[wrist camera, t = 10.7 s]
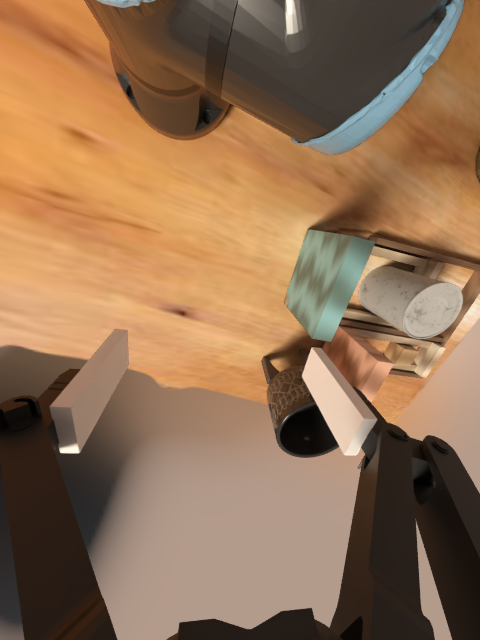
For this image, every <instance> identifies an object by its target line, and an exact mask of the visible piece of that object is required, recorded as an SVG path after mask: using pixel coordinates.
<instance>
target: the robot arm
mask: <svg viewBox="0 0 480 640" xmlns="http://www.w3.org/2000/svg"><path fill="white" fill-rule="evenodd" d="M84 1H85V3H86V4H87V6H88V7H89V9H90V11H91V12H92V14H93V15H94V17H95V19H96V20H97V22H98V24H99V25H100V27H101V28H102V30H103V32H104V33H105V35H106V37H107V38H108V40H109V45H110V53H111V58H112V62H113V66H114V69H115V73H116V75H117V78H118V81H119V83H120V85H121V88H122V90H123V92H124V93H125V95H126V97H127V99H128V100H129V102H130V103H131V105H132V106H133V107H134V109H135V110H136V112H137V113H138V114H139V115H140V117H141V118H142V119H143V120H144V121H145V122H146V123H147V124H148V125H149V126H151V127H152V128H153V129H154V130H156V131H157V132H159V133H161V134H163V135H165V136H167V137H170V138H173V139H177V140H193V139H197V138H200V137H203V136H205V135H206V134H208V133H210V132H211V131H212V130H213V129H215V128H216V127H217V126H218V124H219V123H220V122H221V121H222V119H223V118H224V116H225V114H226V113H227V111H228V108H229V106H230V104H232V105H234V106H236V107H237V108H239V109H241V110H243V111H245V112H246V113H248V114H250V115H252V116H254V117H255V118H257V119H259V120H261V121H263V122H264V123H266V124H268V125H270V126H272V127H274V128H275V129H277V130H279V131H281V132H283V133H284V134H286V135H288V136H290V137H291V139H292V141H293V142H295V143H296V144H298V145H303V146H308V147H310V148H312V149H314V150H316V151H318V152H320V153H323V154H326V155H336V154H342V153H345V152H347V151H349V150H351V149H353V148H355V147H357V146H358V145H360V144H361V143H363V142H364V141H366V140H367V139H368V138H369V137H371V136H372V135H373V134H374V133H375V132H377V131H378V130H379V129H380V128H381V127H382V126H383V125H384V124H385V123H386V122H387V121H388V120H389V119H390V118H391V117H392V116H393V115H394V114H395V113H396V112H397V111H398V110H399V109H400V108H401V107H402V106H403V105H404V104H405V102H406V101H407V100H408V99H409V98H410V96H411V95H412V94H413V93H414V91H415V90H416V89H417V88H418V86H419V85H420V84H421V82H422V81H423V73H424V72H425V71H426V70H427V69H428V68H429V67H430V66H431V65H433V64H434V63H435V62H436V61H437V60H438V59H439V57H440V55H441V54H442V52H443V51H444V49H445V47H446V46H447V44H448V42H449V40H450V38H451V37H452V35H453V33H454V30H455V28H456V26H457V23H458V21H459V18H460V16H461V14H462V11H463V6H464V0H84ZM128 365H129V353H128V330H121V329H115V330H114V331H113V332H112V333H111V334H110V336H109V337H108V338H107V339H106V340H105V342H104V343H103V344H102V345H101V346H100V347H99V349H98V350H97V351H96V352H95V353H94V355H93V356H92V357H91V358H90V359H89V360H88V362H87V363H86V364H85V365H84V366H83V368H82V369H69V370H68V371H66V372H64V373H63V374H61V375H60V376H59V377H58V378H57V379H56V380H55V381H54V382H53V384H51V385H50V386H49V387H48V389H47V390H46V391H45V392H44V393H43V394H42V395H41V396H40V397H39V398H38V399H37V398H36V397H33V396H20V397H15V398H12V399H9V400H7V401H5V402H3V403H1V404H0V481H1V480H3V484H4V491H5V499H6V506H7V513H8V521H9V528H10V536H11V543H12V551H13V558H14V565H15V572H16V580H17V587H18V594H19V602H20V609H21V616H22V624H23V632H24V638H25V640H117V637H116V634H115V631H114V628H113V625H112V622H111V619H110V616H109V613H108V610H107V607H106V605H105V602H104V599H103V597H102V595H101V592H100V589H99V587H98V583H97V581H96V577H95V574H94V571H93V568H92V565H91V562H90V559H89V556H88V553H87V550H86V547H85V544H84V541H83V538H82V535H81V532H80V529H79V525H78V522H77V519H76V517H75V513H74V511H73V507H72V504H71V501H70V498H69V495H68V492H67V489H66V486H65V483H64V480H63V477H62V474H61V471H60V468H59V465H58V462H57V459H56V455H55V452H54V450H55V448H56V447H57V446H58V445H59V449H60V452H61V453H80V451H81V449H82V447H83V446H84V444H85V442H86V440H87V439H88V437H89V435H90V433H91V431H92V429H93V428H94V426H95V424H96V422H97V421H98V419H99V417H100V415H101V413H102V412H103V410H104V408H105V406H106V404H107V403H108V401H109V399H110V397H111V396H112V394H113V392H114V390H115V388H116V386H117V385H118V383H119V381H120V379H121V377H122V376H123V373H124V372H125V370H126V369H127V367H128ZM302 378H303V380H304V381H305V383H306V385H307V387H308V389H309V391H310V393H311V394H312V396H313V398H314V400H315V402H316V404H317V406H318V407H319V409H320V411H321V413H322V415H323V417H324V419H325V420H326V422H327V424H328V426H329V428H330V430H331V432H332V433H333V435H334V437H335V439H336V441H337V443H338V445H339V447H340V448H341V450H342V452H343V454H344V455H357V454H358V453H359V451H360V449H361V448H362V449H363V451H364V453H365V456H364V458H363V459H362V461H361V462H360V464H359V466H358V469H360V468H361V472H360V478H359V484H358V490H357V496H356V502H355V507H354V513H353V519H352V525H351V531H350V537H349V543H348V549H347V554H346V560H345V566H344V572H343V578H342V584H341V589H340V595H339V601H338V605H337V608H336V611H335V614H334V617H333V619H332V622H331V626H330V628H328V627H327V626H326V625H324V624H322V623H321V622H319V621H317V620H315V619H314V615H313V611H312V608H307V609H299V610H289V611H282V612H280V613H278V614H276V615H275V616H273V617H271V618H270V619H268V620H266V621H265V622H263V623H262V624H260V625H258V626H256V627H255V628H253V629H244V628H241V627H238V626H235V625H232V624H229V623H226V622H223V621H220V620H216V619H208V620H198V621H189V622H181V623H179V629H178V633H177V634H175V635H173V636H171V637H169V638H168V639H167V640H435V638H434V632H433V628H432V625H431V623H430V621H429V620H428V619H427V618H426V617H425V616H424V615H423V613H422V610H421V602H420V585H419V568H418V552H417V535H416V521H417V525H418V528H419V531H420V534H421V538H422V541H423V544H424V548H425V551H426V554H427V558H428V560H429V564H430V567H431V570H432V574H433V577H434V581H435V584H436V587H437V590H438V594H439V597H440V600H441V604H442V607H443V610H444V614H445V617H446V620H447V623H448V627H449V630H450V633H451V637H452V640H480V493H479V492H478V490H477V488H476V487H475V485H474V483H473V481H472V480H471V478H470V476H469V474H468V473H467V471H466V469H465V467H464V466H463V464H462V462H461V461H460V459H459V457H458V455H457V454H456V452H455V451H454V450H453V448H452V447H451V446H450V445H448V444H447V443H446V442H445V441H443V440H441V439H439V438H437V437H435V436H430V435H428V436H426V437H425V439H424V440H423V441H420V440H416V439H413V438H410V437H409V436H408V435H407V433H406V432H404V431H403V430H402V429H401V428H399V427H398V426H396V425H393V424H390V423H387V422H386V421H385V419H384V418H383V417H382V416H381V414H380V413H379V412H378V411H377V410H376V408H375V407H374V406H373V405H372V404H371V402H370V401H369V400H367V398H366V396H365V395H364V394H363V393H362V392H361V391H360V390H359V389H357V388H356V387H355V386H351V385H350V384H349V383H348V381H347V380H346V379H345V378H344V376H343V375H342V374H341V373H340V371H339V370H338V369H337V367H336V366H335V365H334V364H333V362H332V361H331V360H330V359H329V357H328V356H327V355H326V354H325V352H324V351H323V350H322V349H321V348H316V347H312V348H311V351H310V354H309V356H308V359H307V362H306V365H305V368H304V371H303V374H302ZM415 518H416V519H415Z"/></svg>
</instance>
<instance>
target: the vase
mask: <svg viewBox="0 0 480 640" xmlns="http://www.w3.org/2000/svg"><path fill="white" fill-rule="evenodd" d="M476 172H477V178H478V180H479V182H480V149H479V152H478V155H477V161H476Z"/></svg>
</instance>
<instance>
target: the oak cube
mask: <svg viewBox="0 0 480 640" xmlns="http://www.w3.org/2000/svg"><path fill="white" fill-rule="evenodd" d="M418 353H419V351H418V350H416V349H415V348H413V347H412V346H410V345H408V344H402V343H396V342H390V343H389V345H388V347H387V348H386V350H385V352H384V354H383V355H384V356H386V357H387V358H388V359H389V360H391V361H392V362H393V363H394V364H397V365H403V366H409V367H410V366H411V364H412V362H413V361H414V359H415V358H416V356H417V355H418Z"/></svg>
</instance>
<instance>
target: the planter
mask: <svg viewBox="0 0 480 640" xmlns="http://www.w3.org/2000/svg"><path fill="white" fill-rule="evenodd" d="M300 354H301V357H302V365H296V366H292V367H289V368H286V369H284V370H282V371H281V372H279V371H278V370H277V369H276V368H275V367H274V366H273V365H272V364H271V362H270V361H269V359H268V358H267V357H263V359H262V361H261V362H262V366H263V370H264V373H265V377H266V381H267V384H269V386H268V389H267V401H268V405H269V409H270V414H271V418H272V422H273V427H274V431H275V435H276V439H277V443H278V445H279V447H280V448H281V449H282V450H283V451H284V452H286V453H287V454H289V455H292V456H295V457H302V458H309V457H317V456H320V455H324V454H326V453H329V452H331V451H333V450H335V449H336V448H338V447H339V445H338V443H337V441H336V439H335V437H334V435H333V433H332V432H331V430H330V428H329V426H328V424H327V422H326V420H325V419H324V417H323V415H322V413H321V411H320V409H319V407H318V406H317V404H316V402H315V400H314V398H313V396H312V394H311V393H310V391H309V389H308V387H307V385H306V383H305V381H304V380H303V378H302V374H303V371H304V368H305V365H306V362H307V359H308V356H309V355H308V353H307V352H306V351H305V350H304V349H303V350H301V351H300Z"/></svg>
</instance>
